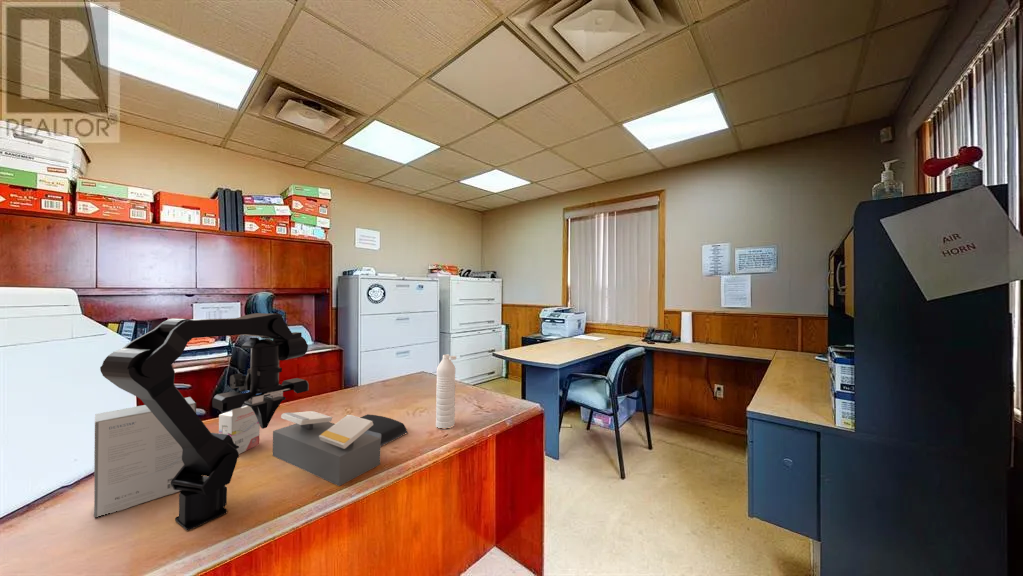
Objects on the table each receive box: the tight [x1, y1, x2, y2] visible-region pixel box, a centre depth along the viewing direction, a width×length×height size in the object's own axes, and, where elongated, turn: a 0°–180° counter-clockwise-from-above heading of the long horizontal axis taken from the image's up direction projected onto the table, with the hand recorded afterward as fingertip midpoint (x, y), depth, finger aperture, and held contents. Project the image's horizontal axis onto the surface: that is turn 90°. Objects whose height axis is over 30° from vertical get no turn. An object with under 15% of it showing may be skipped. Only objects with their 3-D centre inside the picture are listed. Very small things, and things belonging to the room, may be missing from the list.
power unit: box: [272, 421, 381, 487], centre depth 94 cm, size 12×30×9 cm, turn 61°
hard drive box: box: [93, 396, 197, 518], centre depth 77 cm, size 16×8×20 cm, turn 141°
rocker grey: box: [280, 410, 333, 425], centre depth 99 cm, size 9×10×1 cm
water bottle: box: [435, 353, 457, 429], centre depth 118 cm, size 9×6×25 cm
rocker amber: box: [319, 413, 373, 449], centre depth 90 cm, size 9×10×1 cm
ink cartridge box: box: [218, 404, 261, 455], centre depth 99 cm, size 9×5×15 cm, turn 168°
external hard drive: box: [360, 414, 408, 448], centre depth 112 cm, size 13×19×4 cm
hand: (263, 427), depth 83 cm, fingers closed
